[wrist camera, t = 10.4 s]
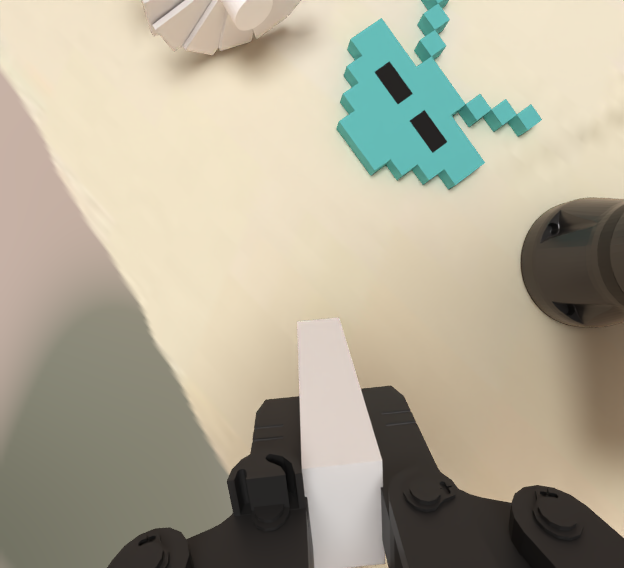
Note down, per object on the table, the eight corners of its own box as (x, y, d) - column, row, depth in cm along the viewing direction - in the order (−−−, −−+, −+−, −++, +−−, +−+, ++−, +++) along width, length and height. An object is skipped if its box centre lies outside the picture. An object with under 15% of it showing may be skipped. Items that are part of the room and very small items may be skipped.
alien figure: (433, -7, 44) (301, 83, 42) (441, -23, 42) (302, 71, 40) (528, 128, 45) (403, 223, 43) (541, 119, 43) (410, 219, 41)
